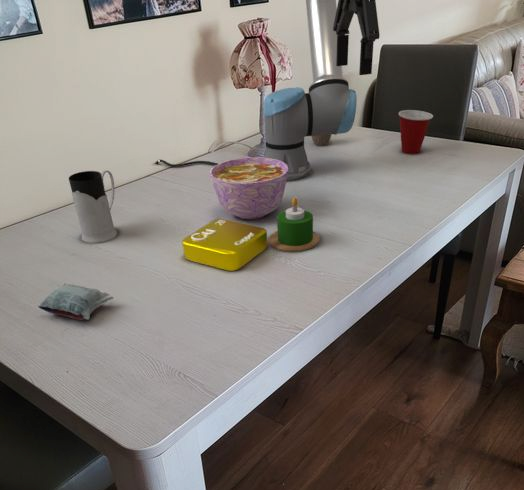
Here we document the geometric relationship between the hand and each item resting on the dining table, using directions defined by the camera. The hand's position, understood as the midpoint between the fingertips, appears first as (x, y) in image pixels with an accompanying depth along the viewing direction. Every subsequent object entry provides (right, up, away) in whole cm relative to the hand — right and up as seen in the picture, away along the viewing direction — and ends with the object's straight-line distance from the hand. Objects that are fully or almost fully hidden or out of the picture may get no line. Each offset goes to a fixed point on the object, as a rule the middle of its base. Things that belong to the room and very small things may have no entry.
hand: (353, 70), depth 128 cm
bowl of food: (-24, -31, +14) cm, 42 cm away
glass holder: (-62, -36, +10) cm, 72 cm away
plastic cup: (+28, -2, +49) cm, 57 cm away
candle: (-14, -40, -1) cm, 43 cm away
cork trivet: (-14, -41, -1) cm, 43 cm away
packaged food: (-58, -59, -21) cm, 85 cm away
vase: (-1, +5, +61) cm, 61 cm away
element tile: (-30, -44, -4) cm, 54 cm away
